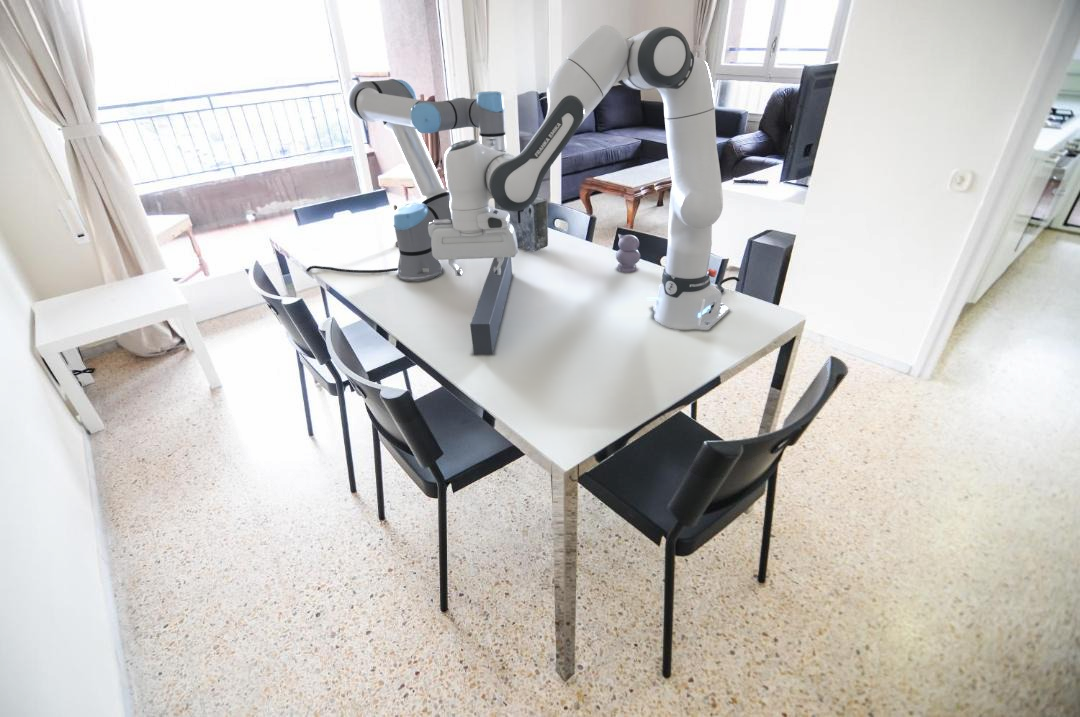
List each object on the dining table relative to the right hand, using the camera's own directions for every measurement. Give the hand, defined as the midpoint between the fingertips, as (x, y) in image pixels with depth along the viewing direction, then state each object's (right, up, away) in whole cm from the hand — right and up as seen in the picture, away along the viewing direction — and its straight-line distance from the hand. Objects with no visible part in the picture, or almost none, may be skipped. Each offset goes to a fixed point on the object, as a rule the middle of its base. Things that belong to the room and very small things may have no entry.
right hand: (478, 274), depth 121 cm
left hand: (+2, +23, +38) cm, 44 cm away
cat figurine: (+45, +11, +53) cm, 70 cm away
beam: (+2, -5, +29) cm, 30 cm away
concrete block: (+9, +24, +76) cm, 80 cm away
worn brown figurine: (-39, +27, +85) cm, 98 cm away
